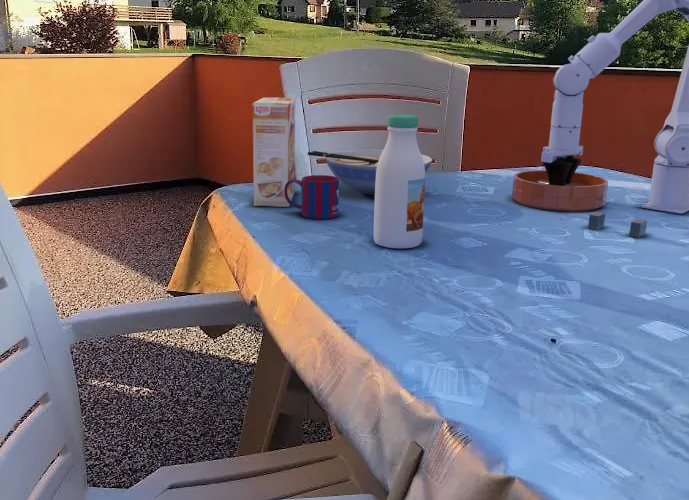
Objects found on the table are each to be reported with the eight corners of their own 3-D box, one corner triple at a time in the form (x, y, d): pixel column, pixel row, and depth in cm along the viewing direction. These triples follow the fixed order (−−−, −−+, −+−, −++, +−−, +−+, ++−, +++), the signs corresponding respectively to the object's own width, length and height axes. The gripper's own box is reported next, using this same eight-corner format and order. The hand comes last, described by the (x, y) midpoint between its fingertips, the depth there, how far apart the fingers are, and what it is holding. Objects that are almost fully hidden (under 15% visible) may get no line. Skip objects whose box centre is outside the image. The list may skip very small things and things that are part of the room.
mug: (332, 220, 125) (333, 182, 124) (279, 216, 128) (279, 179, 126) (342, 212, 132) (343, 176, 130) (291, 208, 134) (291, 172, 132)
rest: (587, 228, 124) (589, 214, 123) (594, 225, 126) (596, 211, 125) (638, 238, 118) (640, 223, 117) (645, 234, 120) (647, 220, 120)
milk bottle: (389, 252, 107) (394, 118, 102) (364, 239, 114) (368, 113, 108) (431, 246, 111) (438, 117, 105) (405, 234, 117) (410, 112, 112)
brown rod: (534, 187, 146) (534, 179, 146) (537, 186, 147) (538, 178, 147) (580, 194, 140) (581, 186, 139) (584, 193, 141) (584, 185, 140)
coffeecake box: (289, 207, 135) (289, 103, 129) (252, 206, 135) (250, 102, 130) (296, 191, 149) (296, 97, 144) (262, 190, 149) (261, 96, 144)
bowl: (537, 189, 157) (539, 167, 155) (619, 202, 145) (622, 178, 144) (494, 201, 144) (496, 177, 142) (581, 217, 132) (584, 190, 130)
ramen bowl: (453, 190, 154) (455, 152, 152) (403, 209, 135) (405, 166, 133) (355, 177, 167) (356, 142, 164) (297, 193, 148) (297, 154, 146)
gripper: (562, 122, 148) (556, 186, 152) (529, 127, 137) (523, 196, 141) (595, 125, 143) (588, 191, 147) (563, 130, 133) (556, 201, 137)
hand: (558, 194), depth 144 cm, fingers closed on brown rod, 1 cm apart
